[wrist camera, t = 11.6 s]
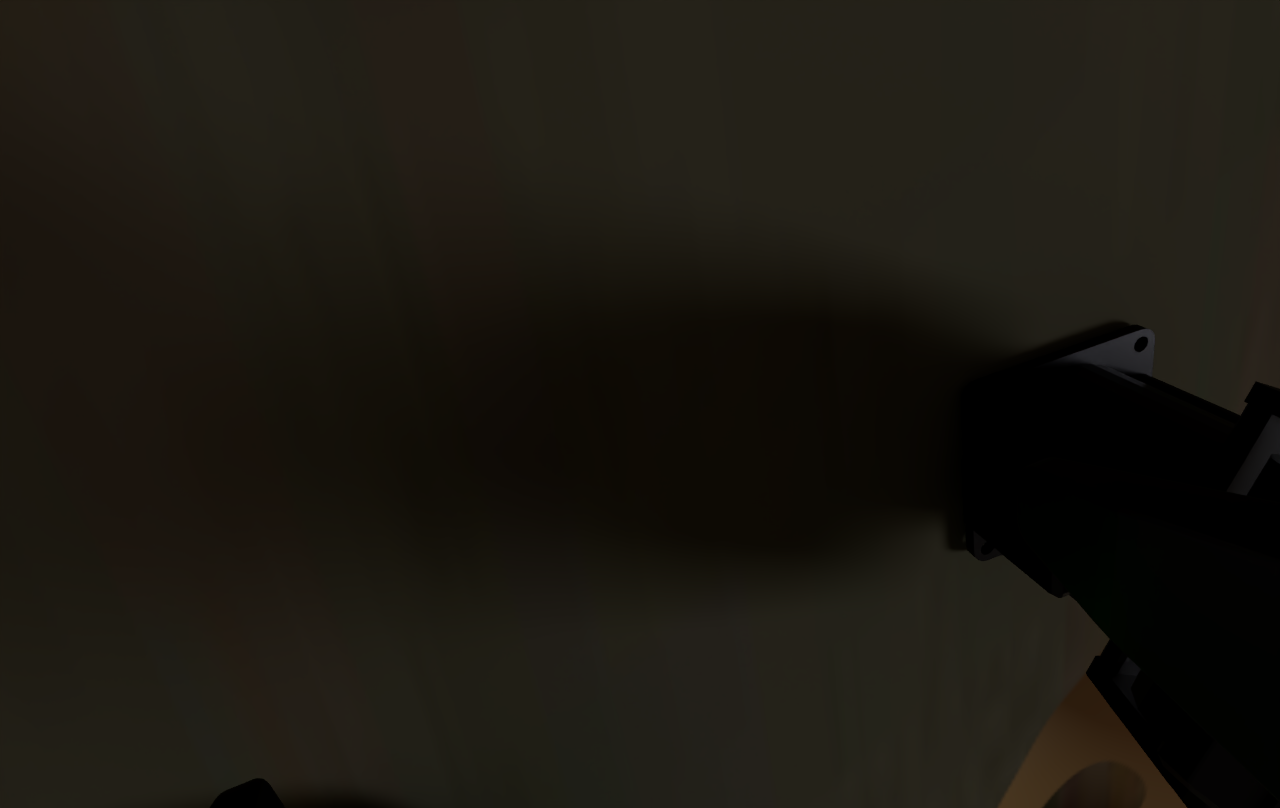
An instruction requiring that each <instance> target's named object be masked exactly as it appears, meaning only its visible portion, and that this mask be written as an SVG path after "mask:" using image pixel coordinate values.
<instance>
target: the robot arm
mask: <svg viewBox="0 0 1280 808" xmlns="http://www.w3.org/2000/svg"><path fill="white" fill-rule="evenodd" d="M1136 341H1137V342H1136ZM1135 342H1136V343H1135ZM1154 344H1155V336H1154V333H1153V332H1152V330H1150V329H1147V328H1144V327H1142V326H1139V325H1131V326H1128V327H1125V328H1122V329H1120V330H1117V331H1114V332H1111V333H1108V334H1105V335H1102V336H1100V337H1097V338H1094V339H1091V340H1088V341H1085V342H1082V343H1080V344H1077V345H1074V346H1071V347H1068V348H1065V349H1062V350H1060V351H1057V352H1054V353H1051V354H1048V355H1045V356H1043V357H1040V358H1037V359H1034V360H1031V361H1028V362H1025V363H1023V364H1020V365H1017V366H1014V367H1011V368H1008V369H1005V370H1003V371H1000V372H997V373H994V374H991V375H988V376H985V377H983V378H980V379H977V380H974V381H973V382H971V383H969V384H968V385H967V386H966V387H965V388H964V390H963V392H962V395H961V420H962V446H963V456H962V459H961V467H962V492H963V517H964V523H965V524H966V547H967V550H968V551H969V552H970V553H971V554H972V555H973V556H974V557H975V558H977V559H978V560H980V561H986V560H989V559H992V558H994V557H997V556H999V555H1004V556H1005V557H1006V558H1007V559H1008V560H1010V561H1011V562H1012V563H1013V564H1014V565H1016V566H1017V567H1018V568H1019V569H1021V570H1022V571H1023V572H1024V573H1025V574H1027V575H1028V576H1029V577H1030V578H1031V579H1033V580H1034V581H1035V582H1036V583H1038V584H1039V585H1040V586H1041V587H1042V588H1044V589H1045V590H1046V591H1047V592H1048V593H1050V594H1052V595H1054V596H1056V597H1058V598H1062V597H1064V596H1067V595H1070V596H1071V597H1072V598H1074V599H1075V600H1076V601H1077V602H1078V604H1079V605H1080V606H1081V607H1082V608H1083V609H1084V610H1085V612H1086V613H1087V614H1088V615H1089V616H1090V617H1091V619H1092V620H1093V621H1094V622H1095V623H1096V624H1097V625H1098V626H1099V628H1100V629H1101V630H1102V631H1103V632H1104V633H1105V634H1106V635H1107V636H1108V637H1109V638H1110V640H1109V641H1108V643H1107V645H1106V647H1105V648H1104V650H1103V652H1102V653H1101V655H1100V656H1095V658H1094V660H1093V661H1092V663H1091V665H1090V666H1089V668H1088V670H1087V672H1086V674H1087V676H1088V677H1089V679H1090V680H1091V681H1092V683H1093V684H1094V685H1095V687H1096V688H1097V689H1098V691H1099V692H1100V693H1101V695H1102V696H1103V697H1104V699H1105V700H1106V701H1107V703H1108V704H1109V705H1110V707H1111V708H1112V709H1113V711H1114V712H1115V713H1116V715H1117V716H1118V717H1119V718H1120V720H1121V721H1122V723H1123V724H1124V725H1125V726H1126V728H1127V729H1128V730H1129V732H1130V733H1131V734H1132V736H1133V737H1134V738H1135V740H1136V741H1137V742H1138V744H1139V745H1140V746H1141V748H1142V749H1143V750H1144V752H1145V753H1146V754H1147V756H1148V757H1149V758H1150V760H1151V761H1152V762H1153V764H1154V765H1155V766H1156V768H1157V769H1158V770H1159V772H1160V773H1161V774H1162V776H1163V777H1164V778H1165V780H1166V781H1167V782H1168V783H1169V785H1170V786H1171V787H1172V788H1173V789H1174V791H1175V792H1176V793H1177V794H1178V796H1179V797H1180V799H1181V800H1182V801H1183V803H1184V804H1185V805H1186V807H1187V808H1280V389H1279V388H1276V387H1273V386H1269V385H1266V384H1263V383H1260V382H1255V384H1254V385H1253V387H1252V389H1251V390H1250V392H1249V394H1248V396H1247V397H1246V399H1245V401H1244V402H1246V403H1248V404H1247V406H1246V407H1245V409H1244V411H1243V413H1242V414H1241V416H1240V415H1238V414H1236V413H1233V412H1231V411H1229V410H1227V409H1224V408H1222V407H1220V406H1217V405H1215V404H1213V403H1211V402H1208V401H1206V400H1204V399H1201V398H1199V397H1197V396H1195V395H1192V394H1190V393H1188V392H1185V391H1183V390H1181V389H1179V388H1176V387H1174V386H1172V385H1169V384H1167V383H1165V382H1163V381H1160V380H1158V379H1156V378H1153V377H1152V369H1153V356H1154ZM982 393H983V394H982ZM980 394H982V397H981V399H980V400H979V401H977V398H978V397H979V395H980ZM984 543H985V544H984ZM983 544H984V545H983ZM210 808H285V807H284V805H283V804H282V802H281V801H280V799H279V798H278V796H277V795H276V793H275V791H274V790H273V788H272V787H271V785H270V784H269V783H268V782H267V781H265V780H264V779H261V778H257V779H253V780H250V781H248V782H246V783H243V784H241V785H238V786H236V787H233V788H231V789H228V790H226V791H224V792H223V793H221V794H220V795H219V796H218V797H217V798H216V799H215V801H214V802H213V804H212V805H211V807H210Z"/></svg>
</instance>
